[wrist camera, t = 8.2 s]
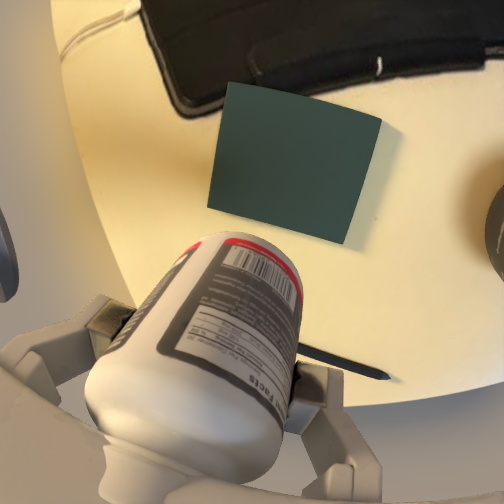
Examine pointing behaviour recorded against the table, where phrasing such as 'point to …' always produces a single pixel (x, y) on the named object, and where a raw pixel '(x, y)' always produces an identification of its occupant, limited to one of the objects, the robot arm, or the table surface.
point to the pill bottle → (200, 371)
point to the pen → (341, 362)
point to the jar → (496, 233)
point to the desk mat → (291, 160)
